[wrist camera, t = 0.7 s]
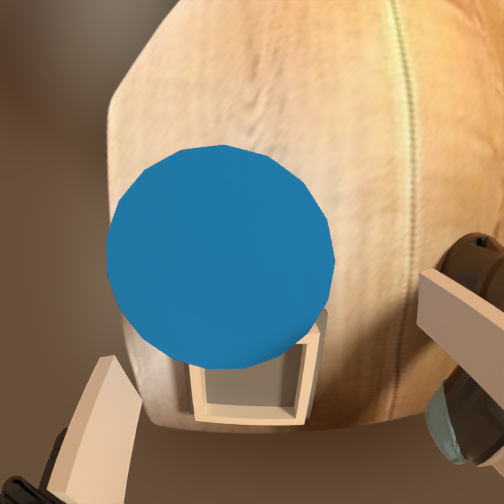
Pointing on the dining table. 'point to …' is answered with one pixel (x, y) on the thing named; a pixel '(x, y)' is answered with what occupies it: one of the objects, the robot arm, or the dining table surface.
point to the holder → (261, 386)
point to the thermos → (220, 257)
